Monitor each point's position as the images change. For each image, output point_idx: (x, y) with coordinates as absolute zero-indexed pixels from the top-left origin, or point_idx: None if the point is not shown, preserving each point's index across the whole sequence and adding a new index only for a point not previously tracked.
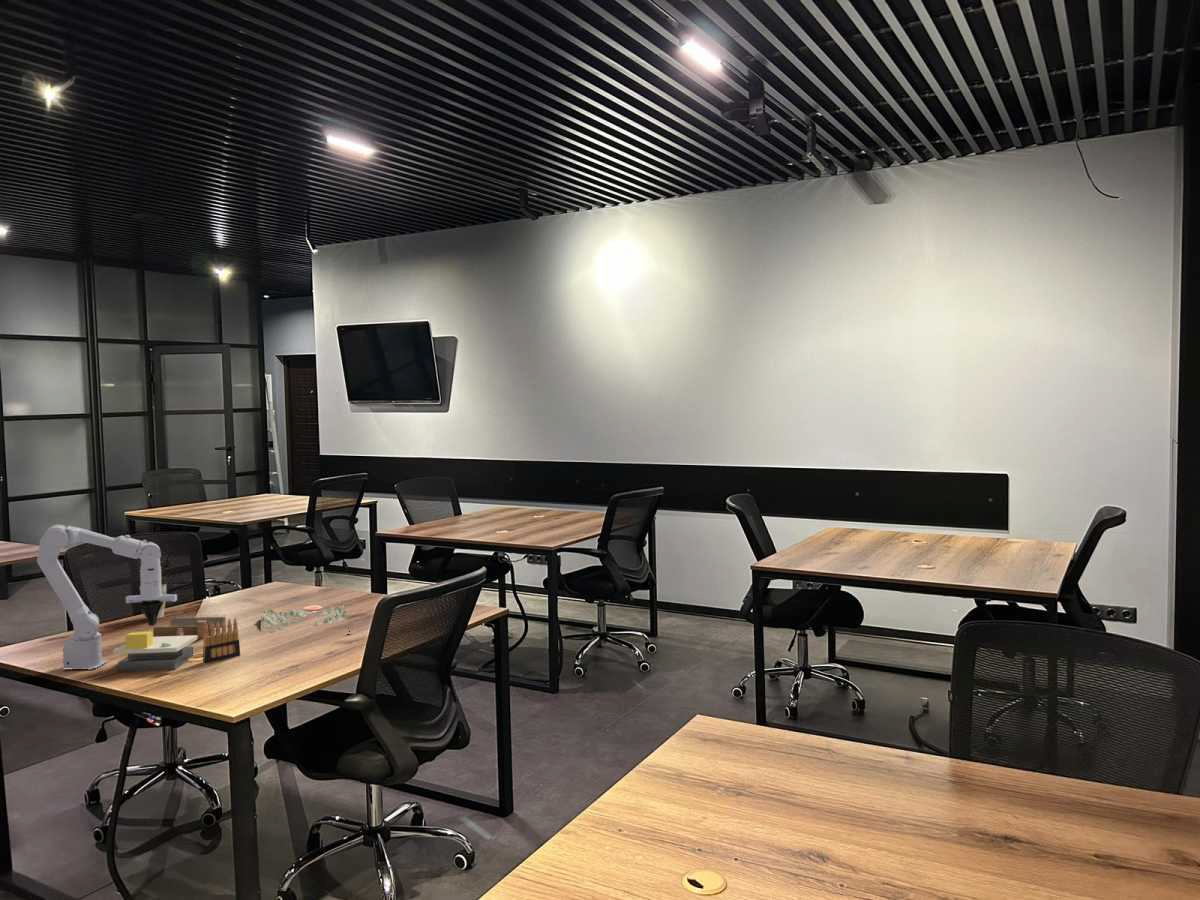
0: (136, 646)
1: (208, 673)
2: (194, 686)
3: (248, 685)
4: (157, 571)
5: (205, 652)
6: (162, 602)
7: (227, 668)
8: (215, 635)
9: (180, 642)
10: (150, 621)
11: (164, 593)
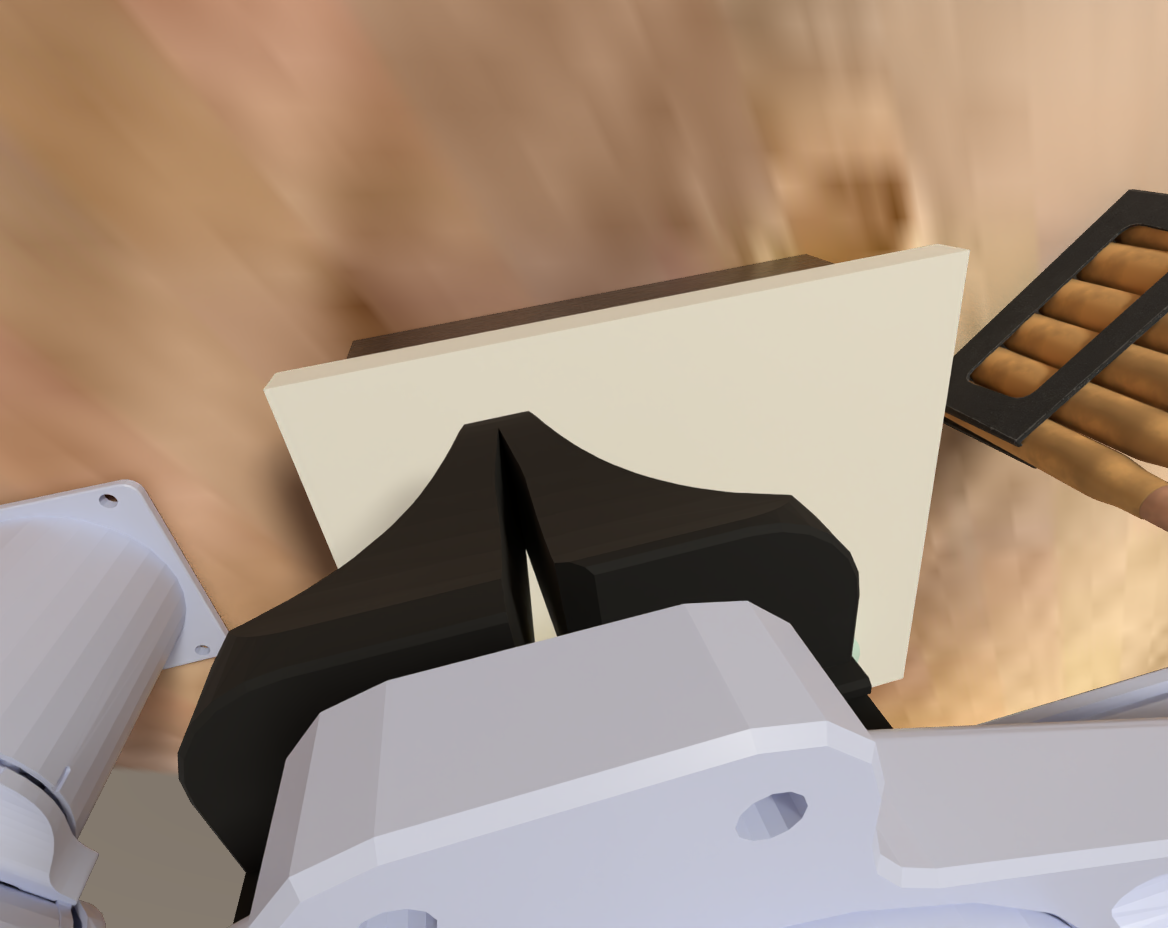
0: None
1: (982, 580)
2: (952, 719)
3: (1148, 670)
4: None
5: (994, 447)
6: (839, 608)
7: (1068, 497)
8: None
9: (883, 546)
10: (524, 555)
11: None
